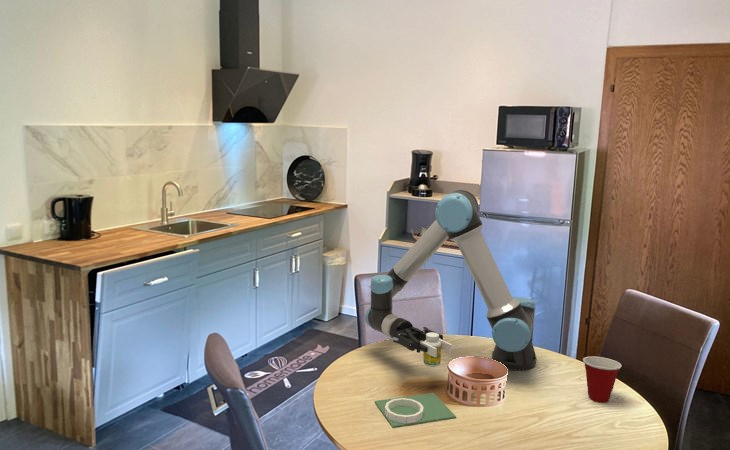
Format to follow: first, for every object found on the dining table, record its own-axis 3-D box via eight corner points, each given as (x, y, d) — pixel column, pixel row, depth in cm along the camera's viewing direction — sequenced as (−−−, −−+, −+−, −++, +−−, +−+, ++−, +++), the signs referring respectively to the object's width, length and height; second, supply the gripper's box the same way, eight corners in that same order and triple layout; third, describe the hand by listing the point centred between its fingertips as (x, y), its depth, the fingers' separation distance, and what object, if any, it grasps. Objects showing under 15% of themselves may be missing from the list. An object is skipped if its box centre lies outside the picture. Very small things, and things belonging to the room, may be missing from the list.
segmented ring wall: (414, 402, 168) (414, 396, 168) (429, 420, 158) (429, 413, 158) (380, 407, 165) (380, 401, 165) (393, 425, 155) (393, 418, 155)
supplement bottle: (432, 359, 182) (433, 330, 180) (444, 364, 178) (445, 335, 176) (419, 362, 179) (420, 333, 177) (430, 368, 175) (431, 338, 173)
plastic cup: (618, 394, 177) (622, 357, 175) (617, 409, 167) (621, 371, 165) (581, 387, 181) (584, 351, 179) (578, 401, 172) (581, 364, 170)
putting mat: (433, 394, 175) (433, 392, 175) (455, 417, 161) (456, 416, 161) (374, 402, 169) (374, 400, 169) (392, 427, 155) (392, 426, 155)
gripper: (419, 333, 198) (465, 356, 179) (375, 344, 188) (419, 369, 169) (419, 313, 196) (466, 333, 177) (375, 322, 186) (419, 345, 167)
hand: (443, 350), depth 173 cm, fingers closed on supplement bottle, 5 cm apart
